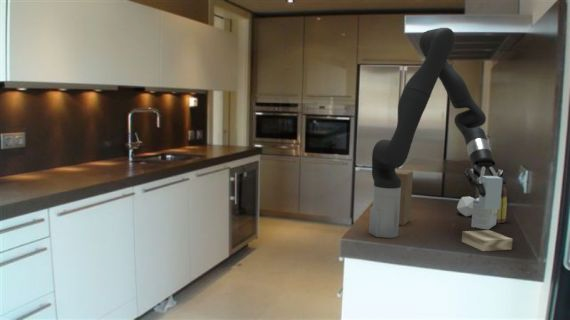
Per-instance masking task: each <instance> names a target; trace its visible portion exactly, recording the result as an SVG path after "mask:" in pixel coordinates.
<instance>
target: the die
mask: <svg viewBox="0 0 570 320" xmlns="http://www.w3.org/2000/svg"><path fill="white" fill-rule="evenodd" d="M475 199H476V198H474V197H471V196H470V195H469V196H462V197H461V198H460V200H459V201H458V203H457V207H456V209H457V210H458V212H459V213H460V214H461V215H463V216H464V217H472V211H473V200H475Z"/></svg>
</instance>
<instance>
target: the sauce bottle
mask: <svg viewBox="0 0 570 320" xmlns="http://www.w3.org/2000/svg"><path fill="white" fill-rule="evenodd" d="M497 175H498V176H499V174H498V173H497ZM499 177H500V176H499ZM500 178H501V177H500ZM503 190H504V194H503V196H502V197H501V203H500V209H497V219H496V224H504V223H506V219H507V205H508V203H507V202H508V195H507V194H508V190H507V187H506V185H505V186H504V187H503Z"/></svg>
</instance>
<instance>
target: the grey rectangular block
mask: <svg viewBox="0 0 570 320" xmlns="http://www.w3.org/2000/svg"><path fill="white" fill-rule="evenodd" d="M502 179H503V178H500V177H497V176H482V181H483V183H482V184H483V185H484V188H485V191H486V195H485V196H484V197H482V196H481V195H480V194H479V193H478V194H479V195H478V198H479V206H481V207H483V208H485V209H500V203H501V191H502Z"/></svg>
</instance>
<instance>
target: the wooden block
mask: <svg viewBox="0 0 570 320" xmlns="http://www.w3.org/2000/svg"><path fill="white" fill-rule="evenodd" d="M395 172H396V174H397V176H398V177H399V178H400V179H401V193H400V209H399V226H403V227H404V225H406V224H408V223H409V222H410V220H411V210H412V209H411V208H412V197H413V196H412V191H413V176H414V175H413V174H414V171H413V170H407V169H399V168H395Z"/></svg>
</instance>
